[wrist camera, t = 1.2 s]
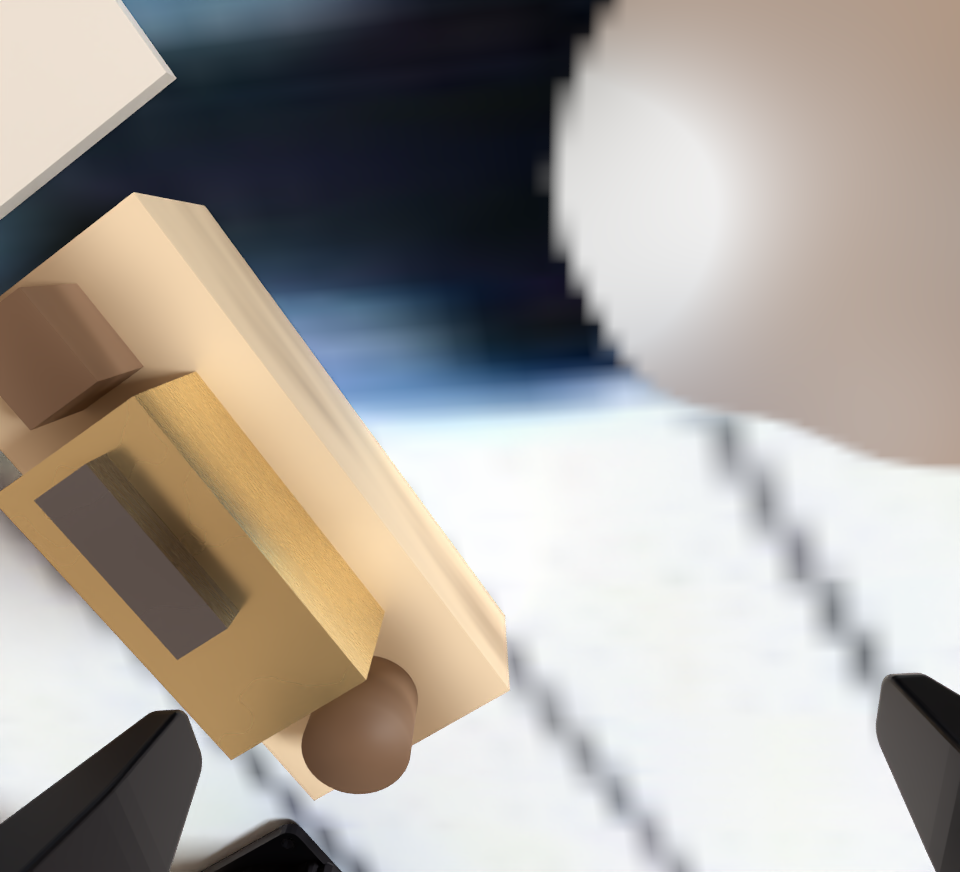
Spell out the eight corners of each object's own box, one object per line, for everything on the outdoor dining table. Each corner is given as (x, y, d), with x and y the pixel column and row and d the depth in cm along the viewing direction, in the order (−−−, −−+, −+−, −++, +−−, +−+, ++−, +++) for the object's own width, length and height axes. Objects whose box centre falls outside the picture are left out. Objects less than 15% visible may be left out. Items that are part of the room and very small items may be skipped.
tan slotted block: (270, 681, 18) (219, 782, 15) (76, 456, 17) (-35, 510, 13) (384, 611, 18) (360, 699, 14) (195, 371, 16) (114, 403, 12)
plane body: (341, 710, 23) (295, 860, 18) (28, 339, 20) (-159, 373, 14) (504, 615, 22) (512, 740, 17) (204, 206, 19) (81, 182, 13)
